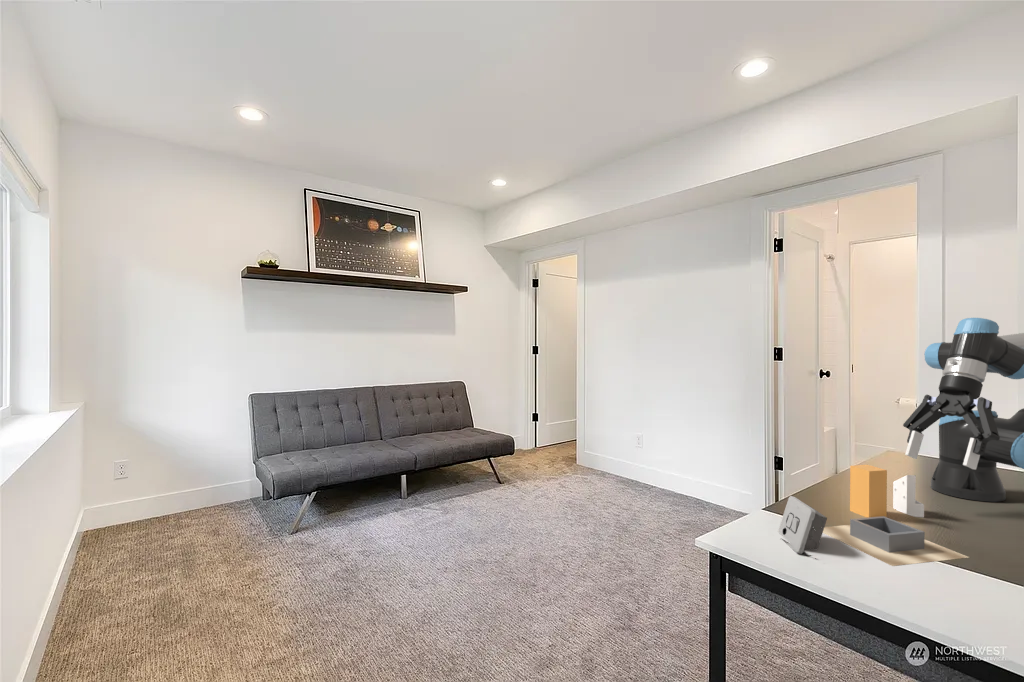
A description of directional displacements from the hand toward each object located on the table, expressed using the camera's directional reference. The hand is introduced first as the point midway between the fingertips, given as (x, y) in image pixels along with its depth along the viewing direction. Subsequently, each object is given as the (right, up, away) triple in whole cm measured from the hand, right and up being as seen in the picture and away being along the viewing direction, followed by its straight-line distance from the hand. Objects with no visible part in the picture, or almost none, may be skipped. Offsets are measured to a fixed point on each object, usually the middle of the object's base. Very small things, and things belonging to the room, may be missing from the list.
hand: (938, 461), depth 115 cm
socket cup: (-24, -13, -15) cm, 32 cm away
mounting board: (-24, -14, -15) cm, 32 cm away
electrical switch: (-42, -14, -15) cm, 47 cm away
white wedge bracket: (-4, -14, +4) cm, 15 cm away
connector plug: (-16, -14, 0) cm, 21 cm away
